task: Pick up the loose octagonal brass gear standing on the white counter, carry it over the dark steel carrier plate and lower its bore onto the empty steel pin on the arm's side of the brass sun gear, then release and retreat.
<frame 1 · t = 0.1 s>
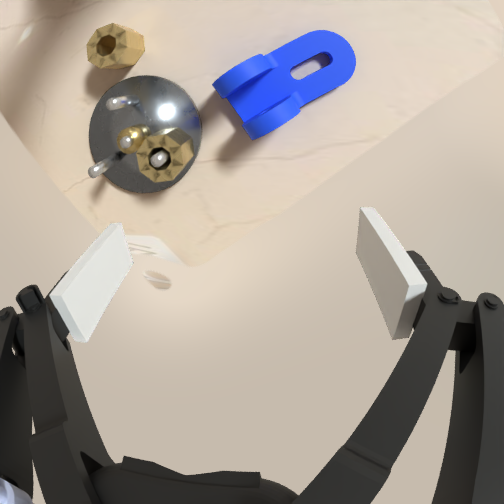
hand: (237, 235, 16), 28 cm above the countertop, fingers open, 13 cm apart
bracket: (292, 75, 35), on the countertop
gear: (125, 48, 32), on the countertop
carrier: (142, 134, 39), on the countertop
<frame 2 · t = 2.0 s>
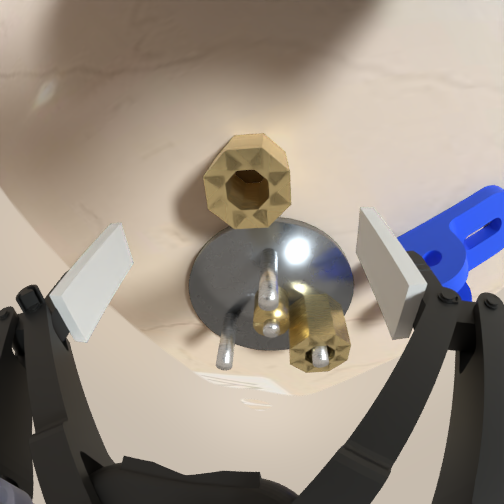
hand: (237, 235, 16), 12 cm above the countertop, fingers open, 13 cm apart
bracket: (456, 234, 28), on the countertop
gear: (251, 167, 26), on the countertop
carrier: (271, 290, 33), on the countertop
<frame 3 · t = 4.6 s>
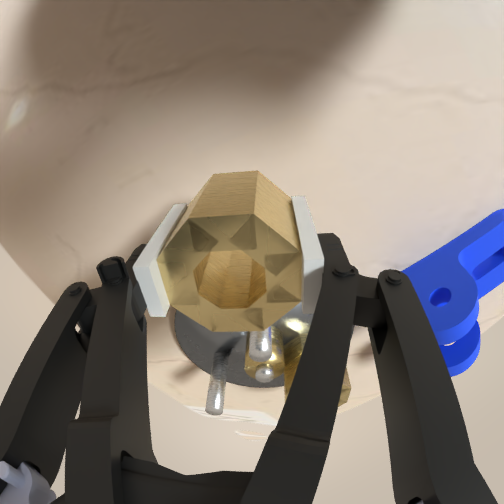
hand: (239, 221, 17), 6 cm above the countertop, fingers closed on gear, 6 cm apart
bracket: (463, 263, 26), on the countertop
gear: (240, 221, 18), point 6 cm above the countertop, touching gripper
carrier: (264, 329, 30), on the countertop
when the fingers open (2 cm above the countertop, at t = 7.9 s): gear stays where it is, resting on carrier.
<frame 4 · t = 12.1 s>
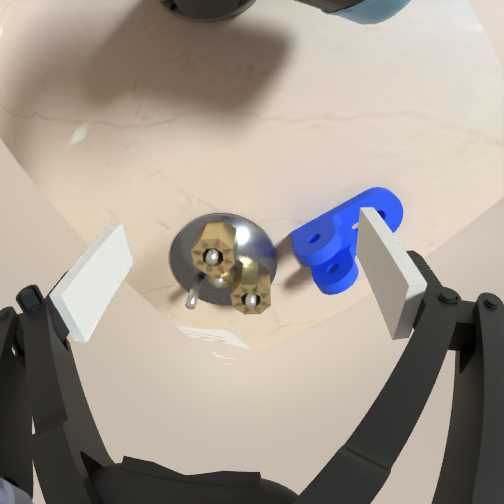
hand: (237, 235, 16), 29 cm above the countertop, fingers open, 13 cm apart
bracket: (350, 224, 47), on the countertop
gear: (218, 237, 47), point 1 cm above the countertop, touching carrier
carrier: (223, 261, 51), on the countertop
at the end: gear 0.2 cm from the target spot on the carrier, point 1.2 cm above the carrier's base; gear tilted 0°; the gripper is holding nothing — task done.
